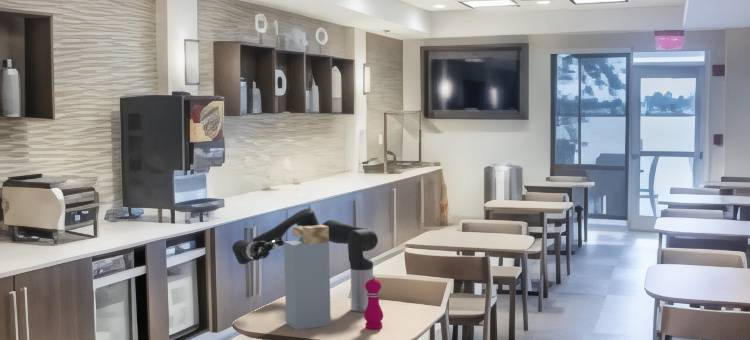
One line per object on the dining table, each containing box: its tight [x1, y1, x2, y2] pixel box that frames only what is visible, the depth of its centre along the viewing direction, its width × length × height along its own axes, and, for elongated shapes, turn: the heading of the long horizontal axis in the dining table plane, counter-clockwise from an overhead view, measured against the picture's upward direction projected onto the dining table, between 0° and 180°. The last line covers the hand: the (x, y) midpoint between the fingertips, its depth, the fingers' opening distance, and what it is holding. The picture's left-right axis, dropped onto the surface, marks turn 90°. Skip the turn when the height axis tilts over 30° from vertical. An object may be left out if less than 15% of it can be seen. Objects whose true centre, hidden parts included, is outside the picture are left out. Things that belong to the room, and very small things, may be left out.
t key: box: [291, 224, 330, 244], centre depth 319 cm, size 8×24×6 cm, turn 26°
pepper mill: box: [363, 274, 384, 331], centre depth 307 cm, size 7×7×20 cm
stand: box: [283, 237, 332, 331], centre depth 313 cm, size 14×11×33 cm
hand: (274, 248), depth 333 cm, fingers open, 8 cm apart
